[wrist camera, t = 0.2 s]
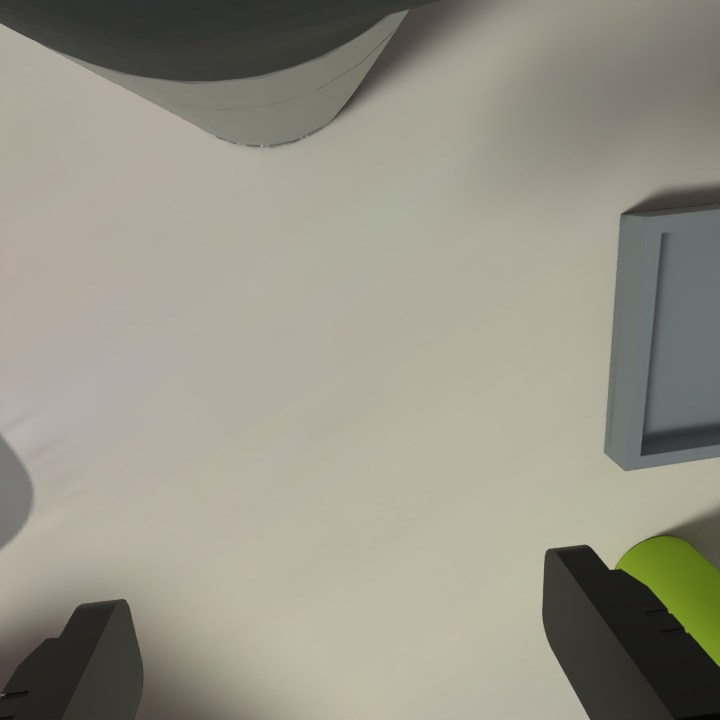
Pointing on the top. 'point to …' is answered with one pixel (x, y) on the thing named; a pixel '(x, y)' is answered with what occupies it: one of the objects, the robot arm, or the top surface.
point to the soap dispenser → (680, 586)
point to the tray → (666, 339)
